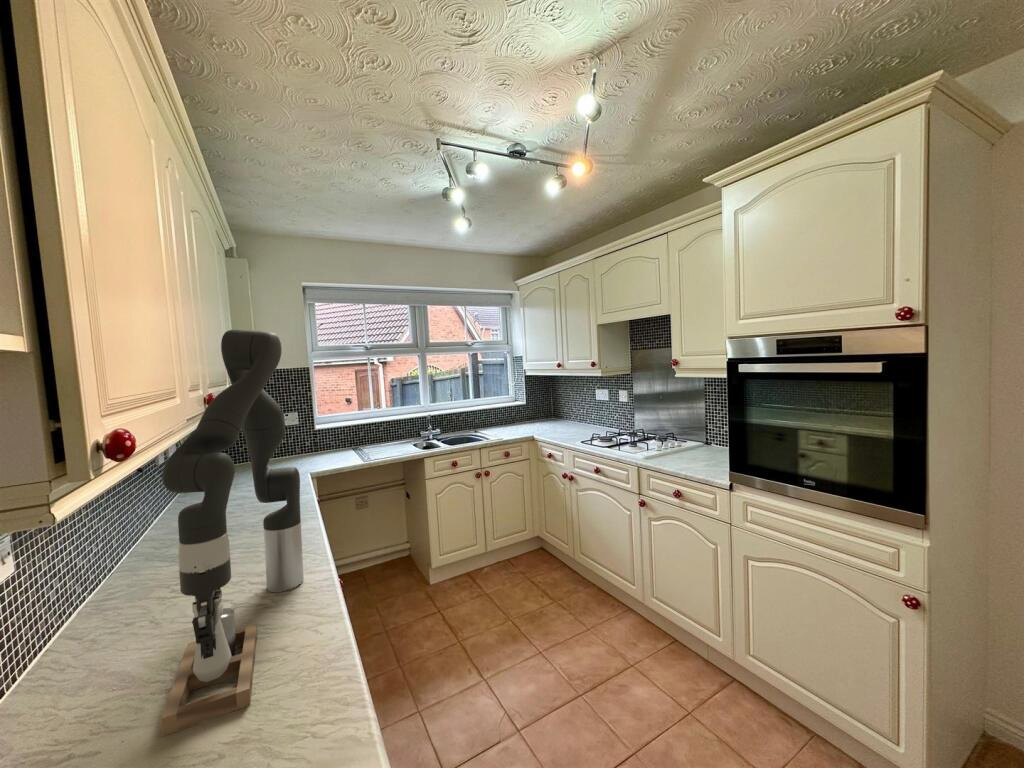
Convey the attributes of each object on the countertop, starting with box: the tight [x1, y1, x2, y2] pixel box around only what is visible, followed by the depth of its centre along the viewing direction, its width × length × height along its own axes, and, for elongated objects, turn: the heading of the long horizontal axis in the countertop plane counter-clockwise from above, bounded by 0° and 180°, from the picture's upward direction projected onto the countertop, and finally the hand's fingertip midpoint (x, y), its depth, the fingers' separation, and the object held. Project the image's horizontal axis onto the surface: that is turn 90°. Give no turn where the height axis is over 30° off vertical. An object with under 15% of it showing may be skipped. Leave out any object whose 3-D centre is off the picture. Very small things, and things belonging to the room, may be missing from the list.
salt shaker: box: [193, 602, 231, 682], centre depth 76 cm, size 6×6×13 cm
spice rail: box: [160, 624, 258, 737], centre depth 81 cm, size 22×12×3 cm, turn 29°
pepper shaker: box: [220, 607, 238, 657], centre depth 85 cm, size 6×6×10 cm
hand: (210, 651), depth 76 cm, fingers closed on salt shaker, 3 cm apart
